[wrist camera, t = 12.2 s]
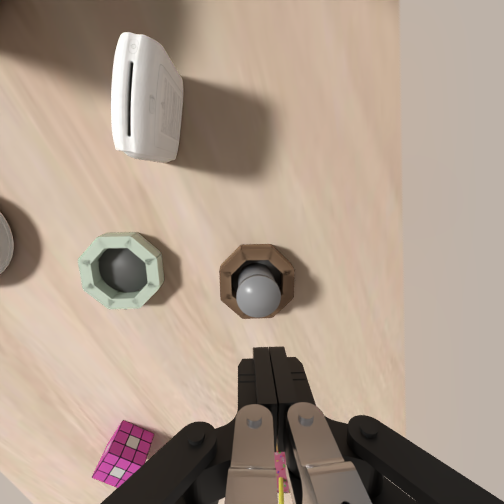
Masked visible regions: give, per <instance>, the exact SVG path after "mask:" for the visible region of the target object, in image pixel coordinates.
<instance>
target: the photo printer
mask: <svg viewBox="0 0 504 504" xmlns="http://www.w3.org/2000/svg"><path fill="white" fill-rule="evenodd" d="M182 107H183V80H182V77H181V76H180V74H179V72H178V71H177V69H176V68H175V66H174V64H173V63H172V61H171V59H170V57H169V56H168V54H167V52H166V51H165V49H164V47H163V46H162V45H161V44H160V43H159V42H157V41H156V40H154V39H152V38H150V37H148V36H146V35H143V34H134V33H131V32H124V33H122V34H121V35H120V38H119V40H118V43H117V47H116V51H115V56H114V64H113V73H112V88H111V122H112V134H113V140H114V144H115V148H116V150H119V151H123V152H124V153H125V154H127V155H128V156H130V157H132V158H135V159H141V160H148V161H154V162H161V163H166V162H170V161H172V160H175V159H176V156H177V152H178V146H179V140H180V129H181V119H182Z"/></svg>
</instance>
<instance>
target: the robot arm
mask: <svg viewBox="0 0 504 504" xmlns="http://www.w3.org/2000/svg"><path fill="white" fill-rule="evenodd" d="M276 447H277V448H278V452H285V458H286V476H287V480H288V485H289V489H290V493H291V498H292V502H293V504H504V502H503V501H502V500H500V499H498V498H497V497H496V496H494V495H492V494H491V493H489V492H488V491H486V490H485V489H483V488H482V487H480V486H478V485H477V484H475V483H474V482H472V481H471V480H469V479H468V478H466V477H465V476H463V475H461V474H460V473H458V472H457V471H455V470H454V469H452V468H451V467H449V466H448V465H446V464H444V463H443V462H441V461H440V460H438V459H436V458H435V457H434V456H432V455H431V454H429V453H427V452H426V451H424V450H423V449H421V448H420V447H418V446H417V445H415V444H413V443H412V442H410V441H409V440H407V439H406V438H404V437H403V436H401V435H400V434H398V433H397V432H395V431H393V430H392V429H390V428H389V427H387V426H386V425H384V424H383V423H381V422H380V421H378V420H376V419H374V418H372V417H369V416H365V415H358V416H355V417H353V418H351V419H350V421H349V423H348V424H346V423H342V422H337V421H334V420H331V419H329V418H327V417H325V416H324V414H323V412H322V411H321V410H320V409H319V408H318V407H317V406H316V404H315V401H314V398H313V395H312V392H311V389H310V386H309V383H308V380H307V377H306V374H305V371H304V368H303V365H302V363H301V362H300V361H299V360H298V359H297V358H296V357H287V356H286V352H285V348H284V347H269V350H268V347H256V348H253V359H242V361H241V362H240V364H239V366H238V411H237V414H236V416H235V418H234V419H233V420H232V421H231V422H230V423H228V424H227V425H225V426H222V427H219V428H216V429H214V427H213V426H212V425H210V424H209V423H206V422H194V423H191V424H189V425H187V426H185V427H184V428H183V429H182V430H181V431H180V432H178V433H177V434H176V435H175V436H174V437H173V438H172V439H171V440H170V441H169V442H167V443H166V444H165V445H164V446H163V447H162V448H161V449H160V450H159V451H158V452H157V453H155V454H154V455H153V456H152V457H151V458H150V459H149V460H148V461H147V462H146V463H145V464H143V465H142V466H141V467H140V468H139V469H138V470H137V471H136V472H135V473H134V474H132V475H131V476H130V477H129V478H128V479H127V480H126V481H125V482H124V483H123V484H122V485H120V486H119V487H118V488H117V489H116V490H115V491H114V492H113V493H112V494H111V495H109V496H108V497H107V498H106V499H105V500H104V501H103V502H102V503H101V504H218V502H219V500H220V499H222V498H224V497H225V504H278V498H277V478H276V468H275V455H274V452H276ZM384 476H385V477H386V478H387V479H386V478H385V477H384ZM388 479H389V480H390V481H391V482H390V481H389V480H388ZM392 482H393V483H394V484H395V485H396V486H395V485H394V484H393V483H392ZM397 486H398V487H399V488H400V489H399V488H398V487H397ZM401 489H402V490H403V491H404V492H405V493H404V492H403V491H402V490H401ZM406 493H407V494H408V495H409V496H408V495H407V494H406ZM411 497H412V498H413V499H414V500H413V499H412V498H411Z"/></svg>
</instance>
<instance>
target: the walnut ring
mask: <svg viewBox="0 0 504 504" xmlns="http://www.w3.org/2000/svg"><path fill="white" fill-rule="evenodd" d="M251 263H261V264H264V265H266V266H267V267H268V268H269V269H270V270H271V271H272V274H273V277H274V280H275V282H276V283H277V285H278V287H279V286H280V288H279V290H280V294H281V300H280V303H279V306H278V307H277V309H276V310H275V311H274V312H273V313H271V314H270V315H268V316H265V317H260V318H272V317H274V316H275V315H276V314H277V313H278V312H279V311H280V310H281V309H282V308H283V307H284V306H286V305H287V304H288V303H289V302H290V301H291V300H292V299H293V298H294V272H295V270H294V268H293V266H292V264H291V263H290V262H289V261H288V260H287V259H286V258H285V257H284V256H283V255H282V254H281V253H280V252H279V251H278V250H277V249H276V248H274V247H273V246H272V245H271V244H250V245H242V246H241V245H240V246H239V247H238V248H237V249H236V250H235V251H234V252H233V253H232V254H231V255H230V256H229V257H228V258H227V259H226V260H225V261H224V262H223V263H222V264H221V266H220V271H219V273H220V297H221V301H222V302H224V303H225V304H226V305H227V306H228V307H229V308H231V309H232V310H233V311H234V312H235V313H236V314H238V315H239V316H240V317H241V318H243V319H250V318H256V317H251V316H248V315H246V314H245V313H244V312H242V311H241V309H240V308H239V306H238V304H237V299H236V296H237V289H238V277H239V273H240V271H241V270H242V269H243V268H244V267H245V266H247V265H248V264H251ZM280 272H281V274H280ZM232 286H233V288H234V290H235V291H234V290H233V289H232Z"/></svg>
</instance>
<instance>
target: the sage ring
mask: <svg viewBox="0 0 504 504" xmlns="http://www.w3.org/2000/svg"><path fill="white" fill-rule="evenodd" d="M100 257H101V258H100ZM99 258H100V260H99ZM78 265H79V271H80V276H81V282H82V287H83V289H84V291H85V292H87V293H88V294H89V295H91V296H92V297H93V298H94V299H96V300H97V301H98V302H100V303H101V304H102V305H104V306H105V307H106V308H108V309H138V308H141V307H142V306H143V305H144V304H145V303H146V302H147V301H148V300H149V298H150V297H151V296H152V295H153V294H154V293H155V292H156V291H157V290H158V289H159V288H160V287H161V285H162V284H163V282H164V272H163V262H162V253H161V252H160V251H159V250H158V249H157V248H155V247H154V246H153V245H152V244H151V243H150V242H148V241H147V240H146V239H145V238H144V237H143V236H141V235H140V234H139V233H137V232H122V233H105V234H103V235H101V236H99V237H97V238H96V239H95V240H94V241H93V243H92V244H91V245H90V246H89V247H88V248H87V249H86V251H85V252H84V253H83V254H82V255H81V256H80V257H79V259H78ZM140 289H141V290H140ZM138 290H140V291H138Z"/></svg>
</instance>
